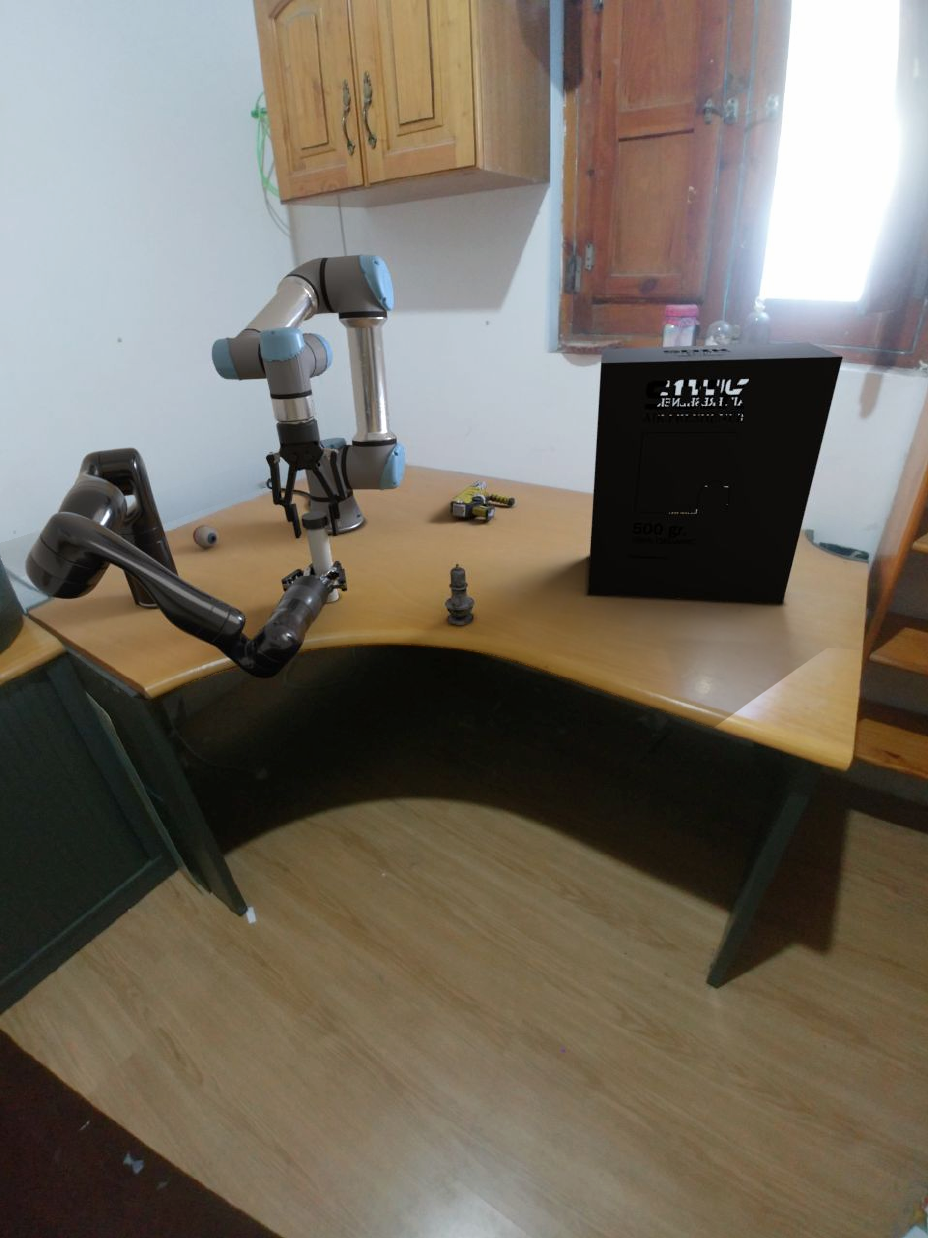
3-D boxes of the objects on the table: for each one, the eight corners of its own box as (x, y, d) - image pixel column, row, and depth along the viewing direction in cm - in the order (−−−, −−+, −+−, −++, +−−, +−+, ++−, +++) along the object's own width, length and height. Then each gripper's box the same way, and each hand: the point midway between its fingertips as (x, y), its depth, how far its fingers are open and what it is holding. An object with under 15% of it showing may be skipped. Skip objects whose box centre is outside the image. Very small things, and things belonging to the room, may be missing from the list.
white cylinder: (331, 592, 134) (317, 513, 124) (342, 597, 131) (328, 518, 122) (316, 598, 131) (300, 519, 122) (326, 604, 129) (310, 523, 119)
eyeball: (207, 553, 156) (200, 531, 153) (191, 549, 159) (185, 527, 156) (225, 545, 160) (220, 523, 157) (210, 541, 163) (204, 520, 160)
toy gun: (523, 485, 181) (476, 478, 185) (501, 509, 161) (448, 500, 165) (521, 500, 184) (475, 493, 187) (499, 525, 163) (447, 517, 167)
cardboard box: (760, 561, 136) (807, 342, 113) (782, 604, 118) (842, 356, 96) (590, 554, 143) (602, 348, 121) (587, 594, 126) (601, 362, 104)
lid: (297, 527, 122) (295, 517, 121) (315, 518, 126) (313, 509, 125) (315, 531, 119) (313, 521, 118) (333, 522, 123) (332, 513, 122)
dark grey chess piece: (472, 626, 117) (469, 570, 111) (442, 624, 118) (438, 569, 112) (477, 611, 122) (475, 557, 116) (449, 610, 123) (445, 556, 117)
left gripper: (335, 585, 113) (357, 548, 128) (262, 585, 114) (292, 549, 129) (341, 619, 117) (362, 580, 131) (270, 619, 118) (299, 580, 133)
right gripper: (351, 412, 115) (367, 525, 127) (248, 418, 115) (273, 531, 127) (346, 420, 109) (363, 538, 120) (236, 427, 109) (264, 545, 120)
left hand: (327, 564), depth 130 cm, fingers closed on white cylinder, 4 cm apart
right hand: (317, 534), depth 124 cm, fingers open, 7 cm apart
